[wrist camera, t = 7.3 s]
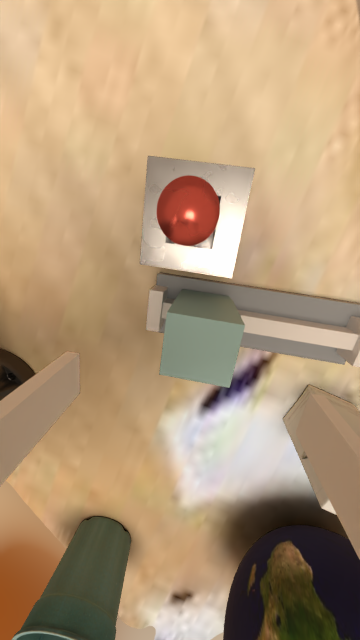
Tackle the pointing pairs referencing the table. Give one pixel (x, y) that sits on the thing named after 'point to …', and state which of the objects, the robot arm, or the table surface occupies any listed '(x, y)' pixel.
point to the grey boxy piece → (224, 241)
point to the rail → (272, 307)
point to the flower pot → (83, 587)
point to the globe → (296, 588)
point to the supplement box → (347, 410)
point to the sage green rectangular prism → (201, 338)
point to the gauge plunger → (188, 210)
